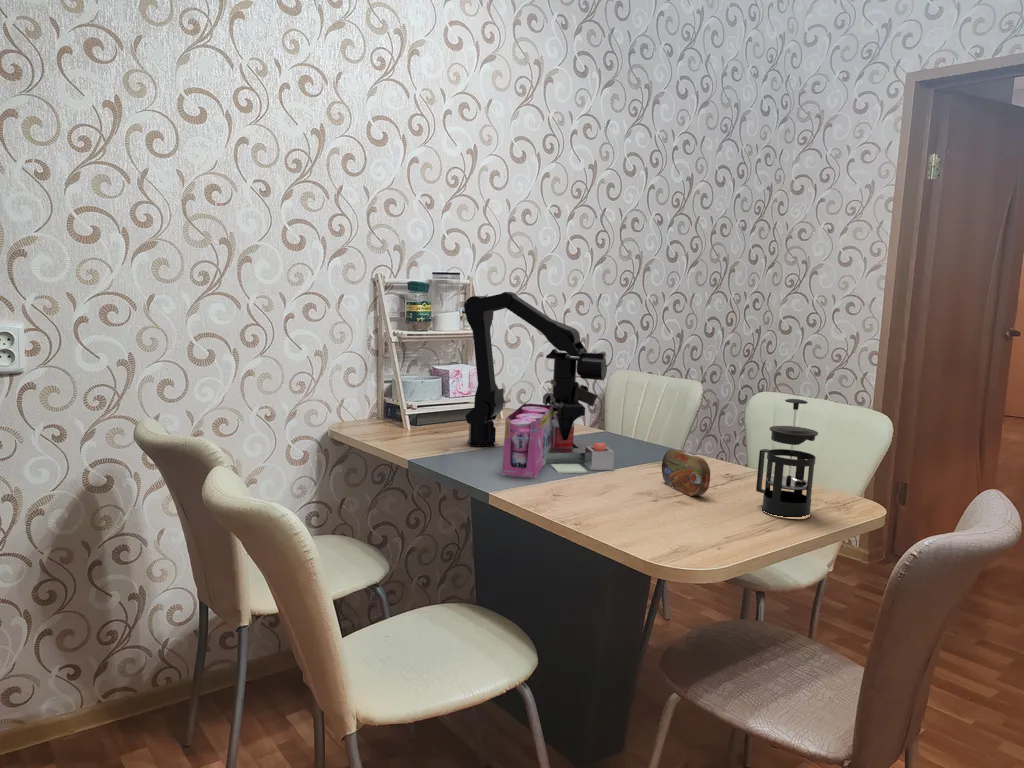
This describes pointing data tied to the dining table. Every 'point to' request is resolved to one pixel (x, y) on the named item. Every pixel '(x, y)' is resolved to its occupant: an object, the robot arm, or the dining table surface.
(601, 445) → the button
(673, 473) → the tin
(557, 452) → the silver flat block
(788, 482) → the french press
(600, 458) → the housing
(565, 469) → the pad
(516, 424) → the gum box
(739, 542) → the dining table surface
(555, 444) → the pill bottle
